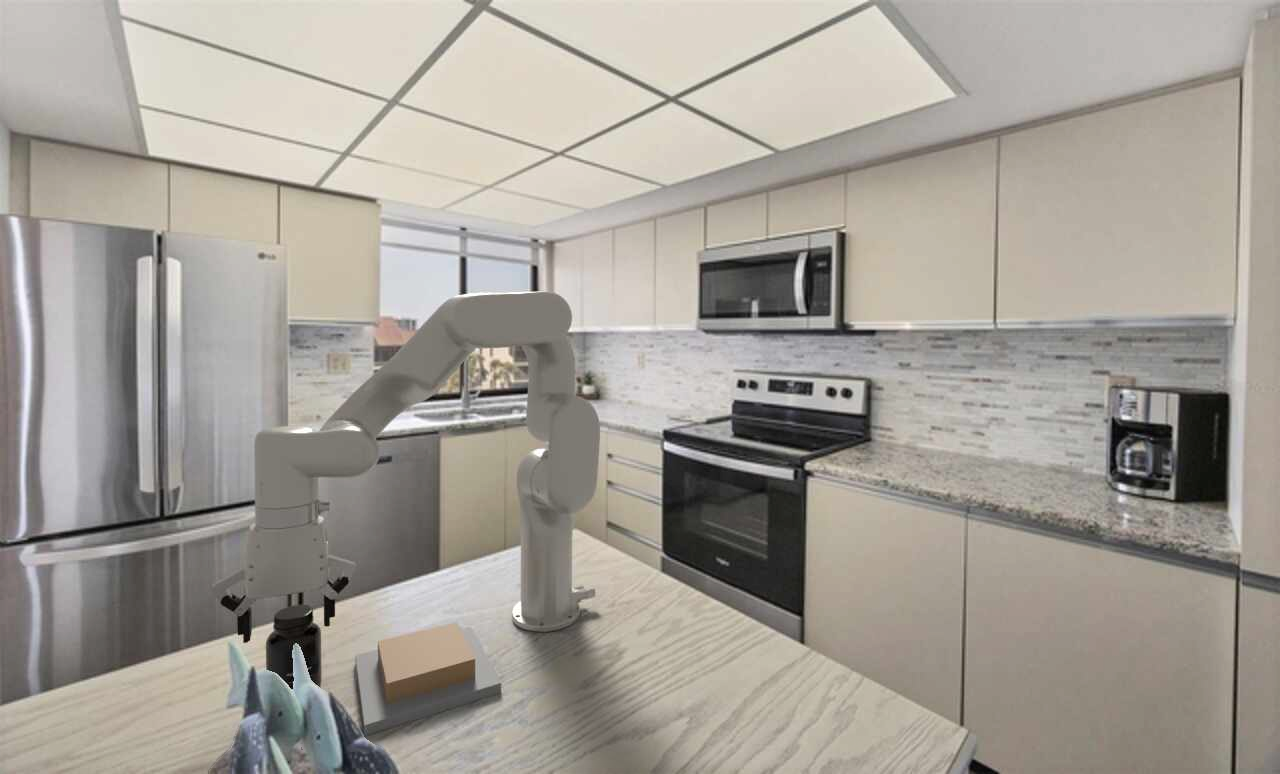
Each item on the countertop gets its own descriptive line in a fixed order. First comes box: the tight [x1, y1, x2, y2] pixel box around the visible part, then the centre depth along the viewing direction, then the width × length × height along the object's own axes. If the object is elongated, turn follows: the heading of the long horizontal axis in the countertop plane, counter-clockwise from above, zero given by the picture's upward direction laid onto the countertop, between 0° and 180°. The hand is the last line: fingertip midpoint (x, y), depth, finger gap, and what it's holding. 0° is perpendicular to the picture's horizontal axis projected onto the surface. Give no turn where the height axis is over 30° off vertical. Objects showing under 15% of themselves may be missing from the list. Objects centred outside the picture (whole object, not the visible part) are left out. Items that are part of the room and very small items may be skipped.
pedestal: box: [354, 621, 502, 737], centre depth 83 cm, size 18×18×4 cm
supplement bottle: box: [265, 604, 323, 689], centre depth 79 cm, size 7×7×12 cm
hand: (288, 630), depth 79 cm, fingers open, 9 cm apart
